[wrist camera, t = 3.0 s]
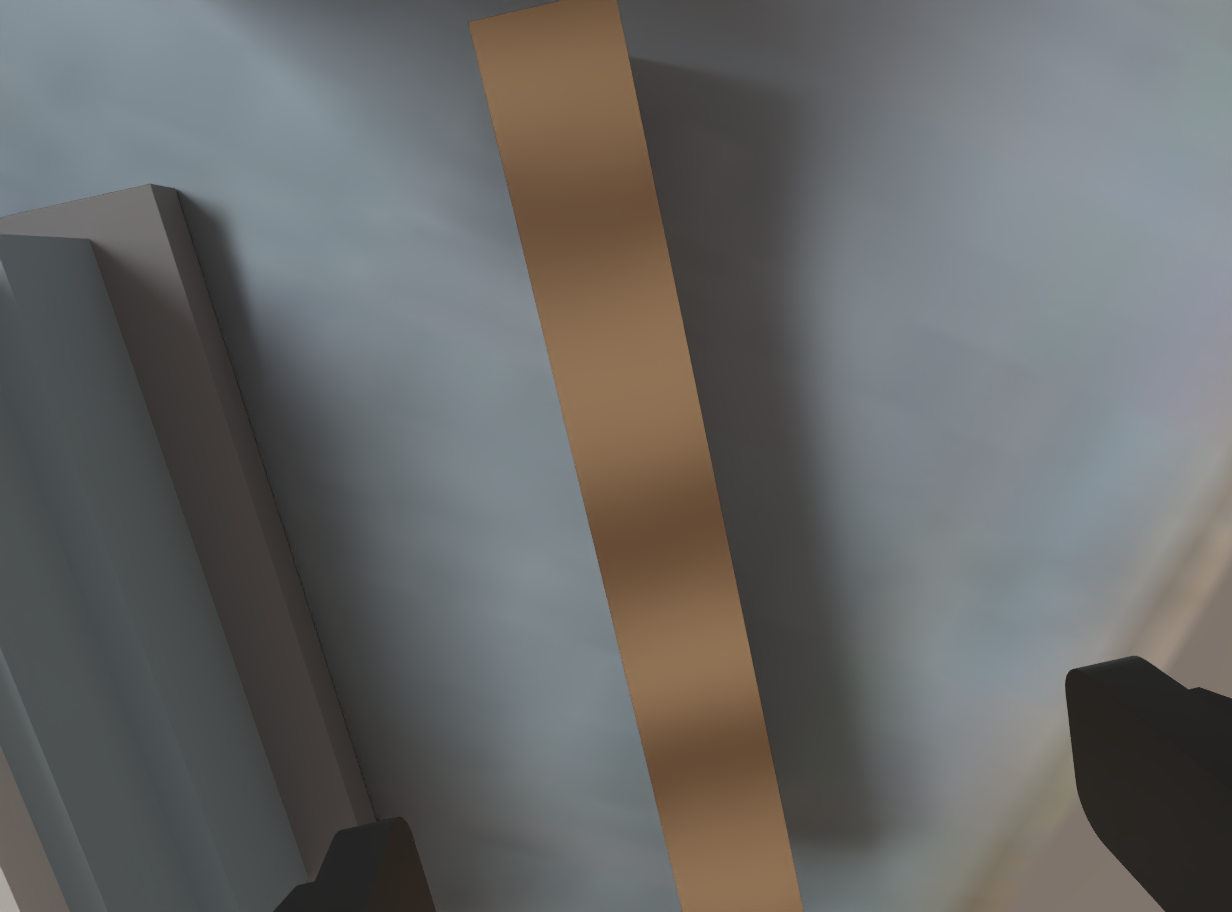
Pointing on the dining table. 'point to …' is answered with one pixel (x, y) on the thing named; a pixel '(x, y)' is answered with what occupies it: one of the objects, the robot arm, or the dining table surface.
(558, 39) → the walnut plank
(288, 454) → the dining table surface
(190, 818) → the fulcrum ridge
